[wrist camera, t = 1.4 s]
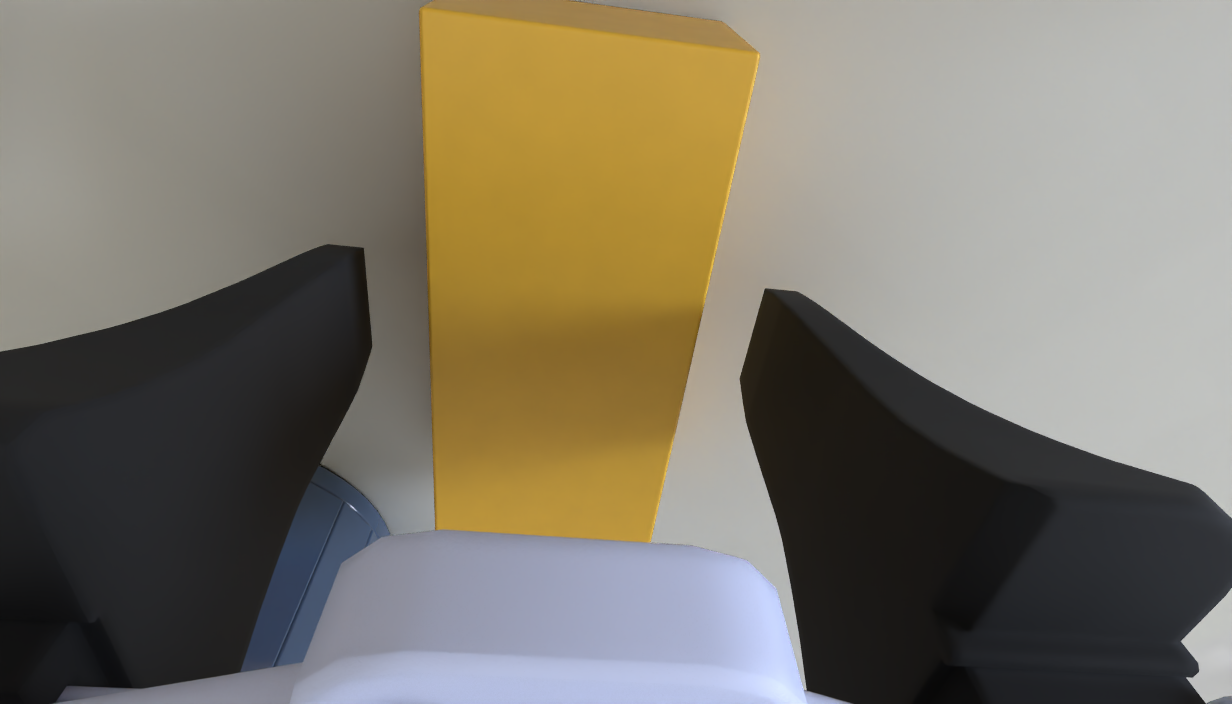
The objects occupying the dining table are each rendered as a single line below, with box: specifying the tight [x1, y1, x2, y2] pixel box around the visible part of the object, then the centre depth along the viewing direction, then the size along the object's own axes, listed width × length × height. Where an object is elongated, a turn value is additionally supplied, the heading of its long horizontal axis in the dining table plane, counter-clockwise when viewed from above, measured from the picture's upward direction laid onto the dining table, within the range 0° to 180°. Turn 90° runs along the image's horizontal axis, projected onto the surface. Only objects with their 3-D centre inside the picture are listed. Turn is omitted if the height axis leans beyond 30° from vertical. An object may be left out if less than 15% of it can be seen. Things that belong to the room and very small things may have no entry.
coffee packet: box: [419, 0, 760, 543], centre depth 13 cm, size 10×4×3 cm, turn 173°
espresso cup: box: [240, 466, 390, 673], centre depth 16 cm, size 7×7×6 cm
